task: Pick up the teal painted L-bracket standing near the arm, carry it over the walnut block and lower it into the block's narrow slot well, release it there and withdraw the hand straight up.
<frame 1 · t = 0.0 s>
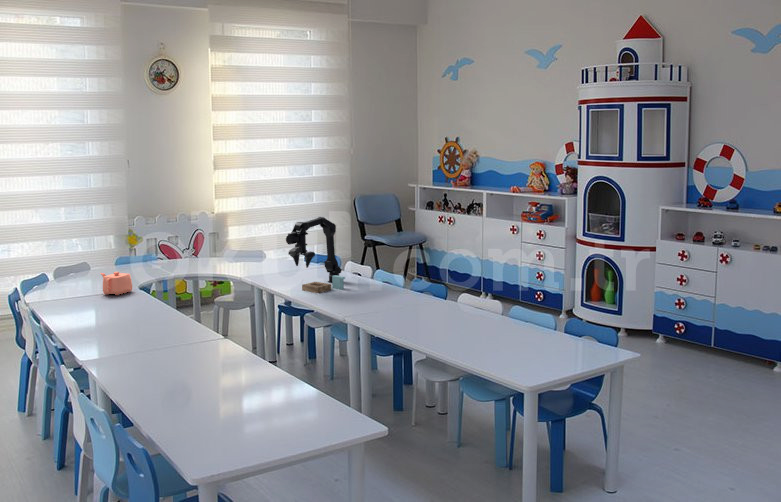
hand: (302, 266, 485), 15 cm above the table, fingers open, 9 cm apart
bracket: (338, 288, 489), on the table
well block: (316, 289, 486), on the table
teapot: (114, 293, 488), on the table
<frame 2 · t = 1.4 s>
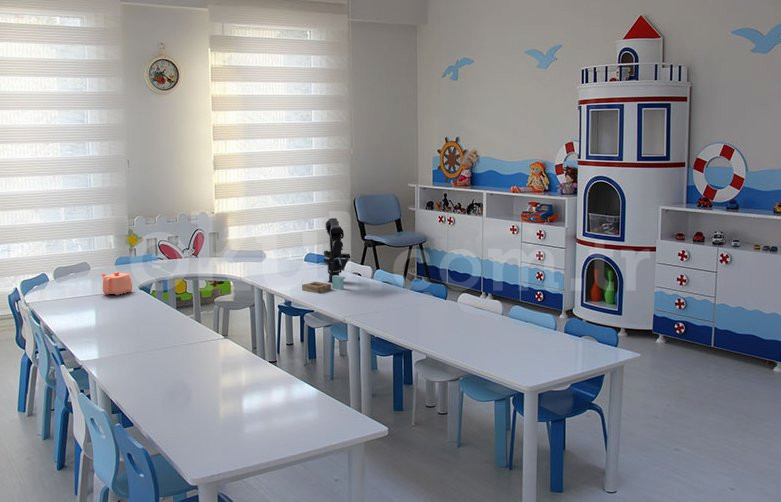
hand: (337, 271, 487), 11 cm above the table, fingers open, 9 cm apart
nothing on the table moved.
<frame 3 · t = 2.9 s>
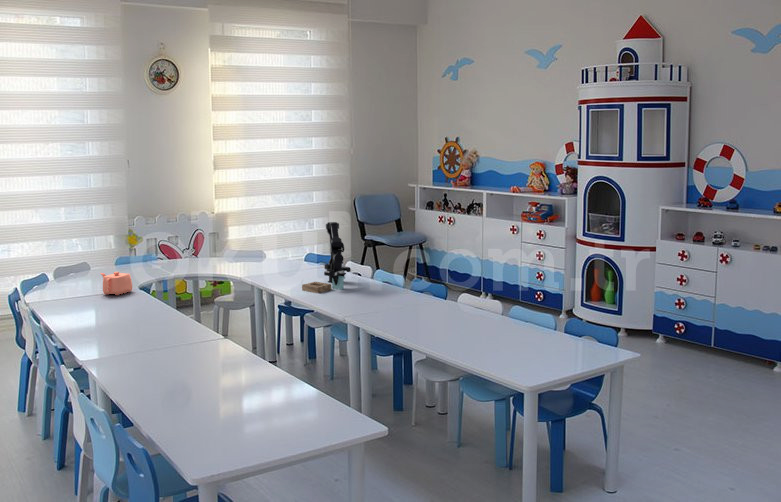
hand: (337, 284, 489), 3 cm above the table, fingers closed on bracket, 3 cm apart
bracket: (338, 288, 489), on the table, touching gripper
everything else where it was.
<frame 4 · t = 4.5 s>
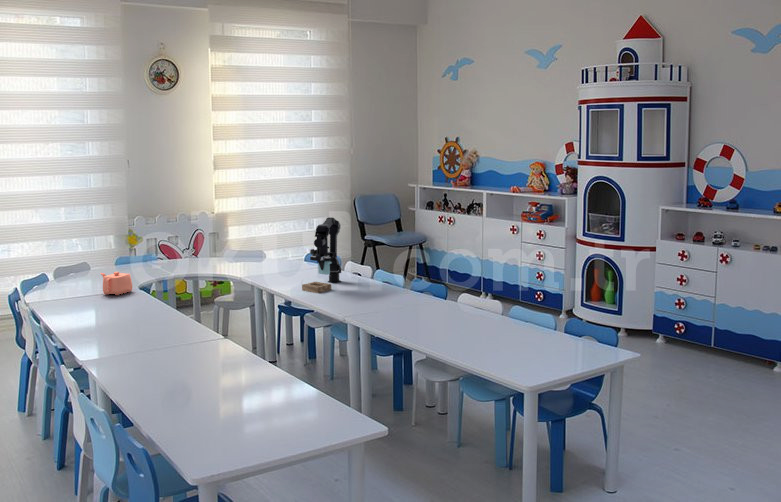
hand: (323, 269, 485), 13 cm above the table, fingers closed on bracket, 3 cm apart
bracket: (324, 273, 485), point 10 cm above the table, touching gripper
everything else where it was.
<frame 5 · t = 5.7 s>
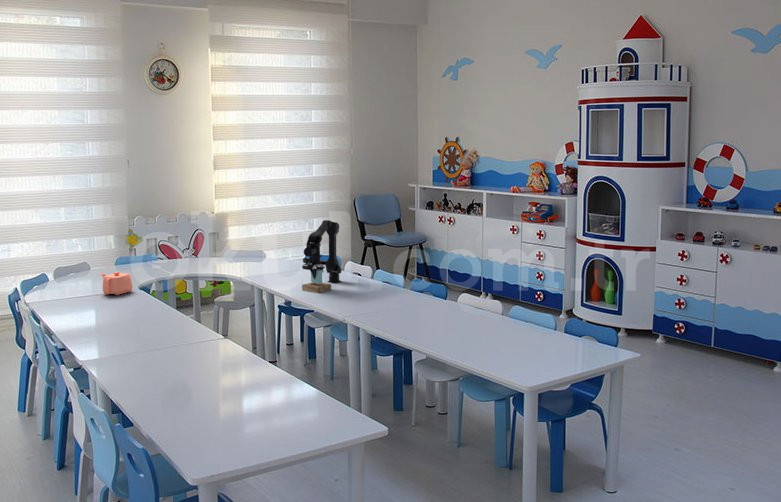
hand: (316, 278, 485), 7 cm above the table, fingers closed on bracket, 3 cm apart
bracket: (316, 282, 485), point 5 cm above the table, touching gripper
everything else where it was.
when the fingers open (5 cm above the table, at t = 6.4 s): bracket drops 2 cm, resting in well block.
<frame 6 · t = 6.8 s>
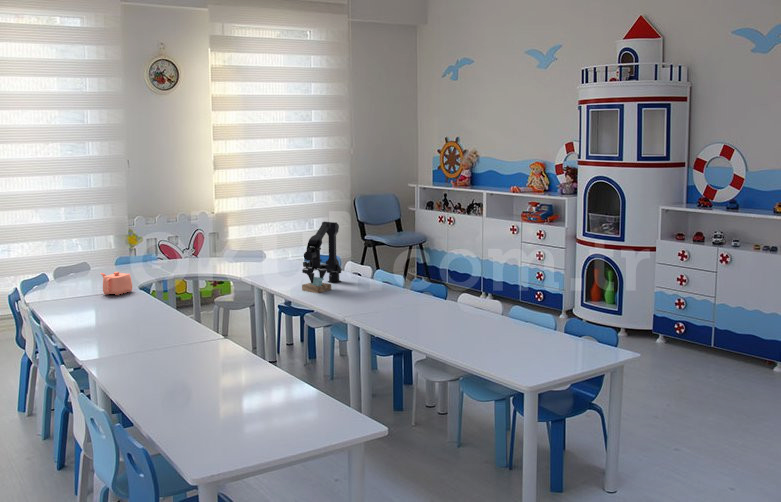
hand: (316, 282, 485), 5 cm above the table, fingers open, 7 cm apart
bracket: (316, 290, 486), resting in well block
everything else where it was.
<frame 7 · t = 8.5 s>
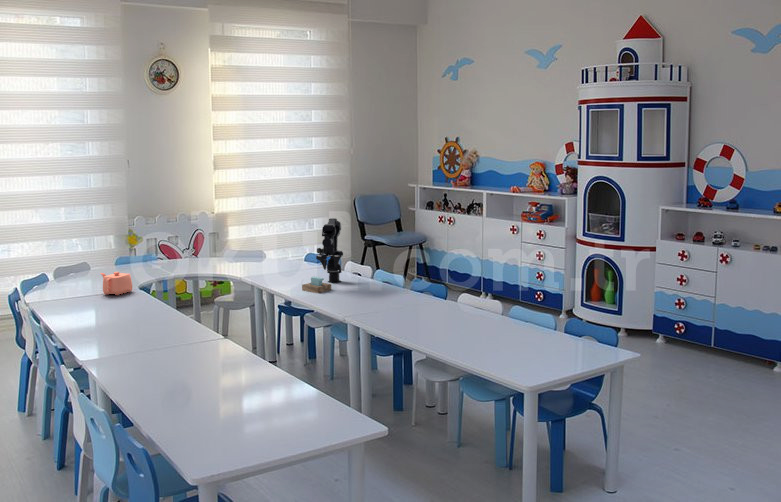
hand: (330, 268, 491), 12 cm above the table, fingers open, 9 cm apart
nothing on the table moved.
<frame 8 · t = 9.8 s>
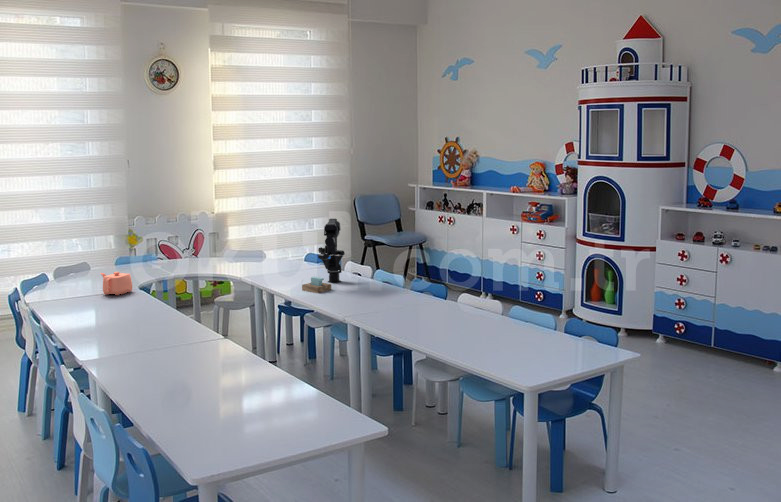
hand: (331, 267, 491), 13 cm above the table, fingers open, 9 cm apart
nothing on the table moved.
at the end: bracket 0.1 cm off-centre on the well block, point 0.0 cm above the well block's base; bracket tilted 0°; the gripper is holding nothing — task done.
